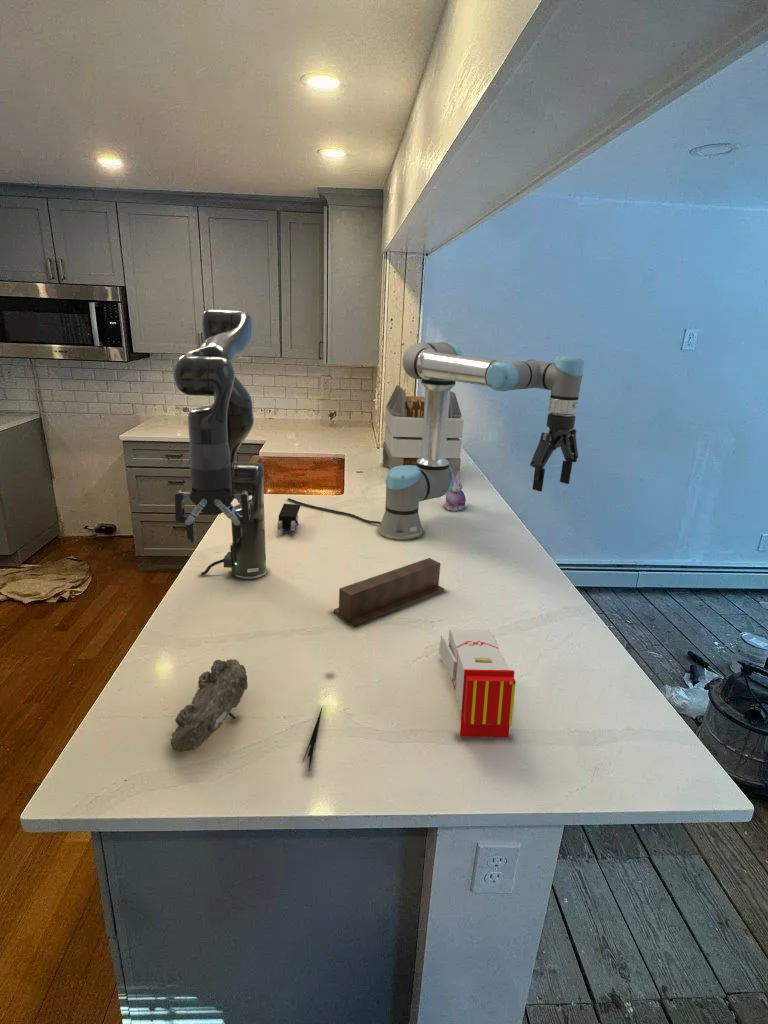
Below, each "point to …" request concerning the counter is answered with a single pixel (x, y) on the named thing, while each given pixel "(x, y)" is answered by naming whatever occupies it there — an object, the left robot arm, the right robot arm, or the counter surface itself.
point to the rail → (388, 592)
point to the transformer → (416, 431)
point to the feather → (313, 740)
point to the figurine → (455, 495)
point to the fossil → (210, 704)
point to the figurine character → (288, 518)
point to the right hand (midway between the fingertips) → (551, 486)
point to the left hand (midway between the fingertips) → (215, 540)
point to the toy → (479, 682)
